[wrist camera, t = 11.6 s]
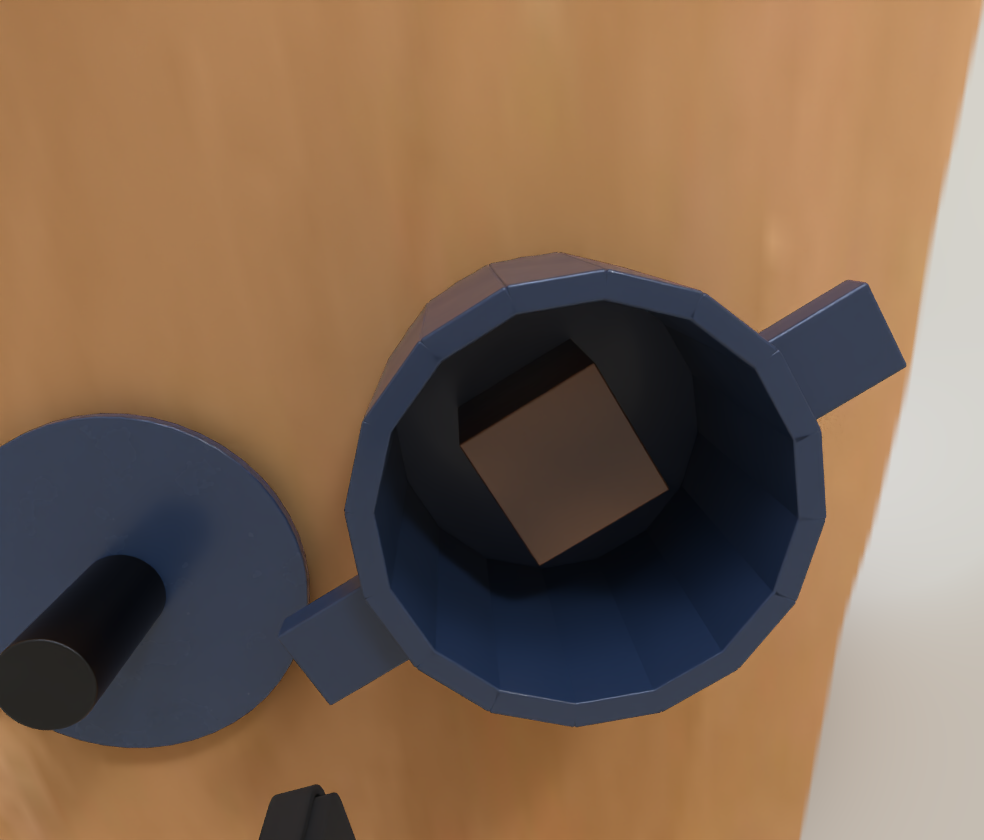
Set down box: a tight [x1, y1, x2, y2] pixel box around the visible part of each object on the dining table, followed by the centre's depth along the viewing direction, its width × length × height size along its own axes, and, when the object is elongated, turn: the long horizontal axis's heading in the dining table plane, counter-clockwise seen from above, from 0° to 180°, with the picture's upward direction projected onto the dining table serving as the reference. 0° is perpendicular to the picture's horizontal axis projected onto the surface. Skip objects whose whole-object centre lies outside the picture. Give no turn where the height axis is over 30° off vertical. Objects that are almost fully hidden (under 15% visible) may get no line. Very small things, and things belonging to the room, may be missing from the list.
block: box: [458, 339, 669, 566], centre depth 24 cm, size 4×4×4 cm
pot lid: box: [0, 413, 310, 748], centre depth 24 cm, size 12×12×7 cm
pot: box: [277, 252, 906, 727], centre depth 23 cm, size 11×17×8 cm
